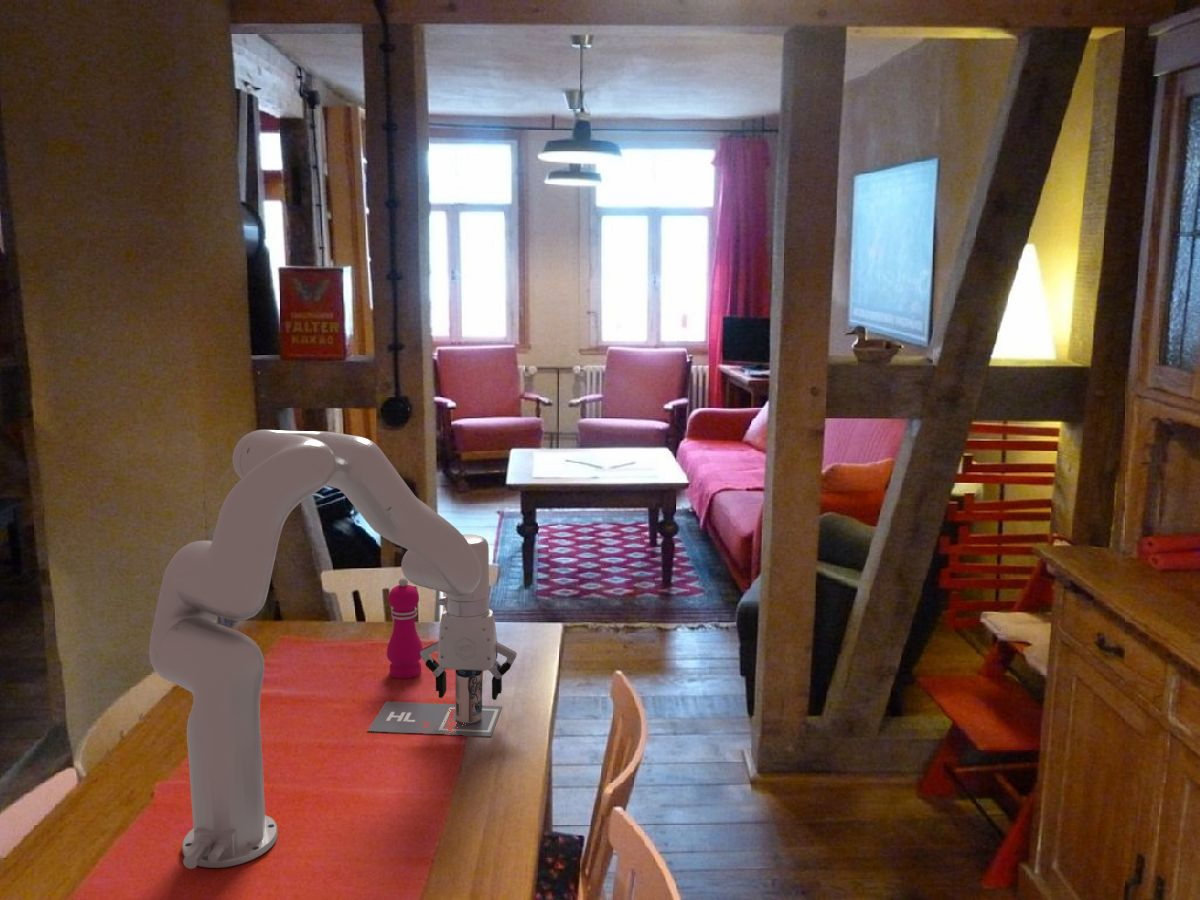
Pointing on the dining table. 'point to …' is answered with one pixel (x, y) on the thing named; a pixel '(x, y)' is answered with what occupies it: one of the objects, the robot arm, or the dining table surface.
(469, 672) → the beer can
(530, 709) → the dining table surface
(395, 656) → the pepper mill
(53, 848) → the dining table surface
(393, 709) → the slate board
